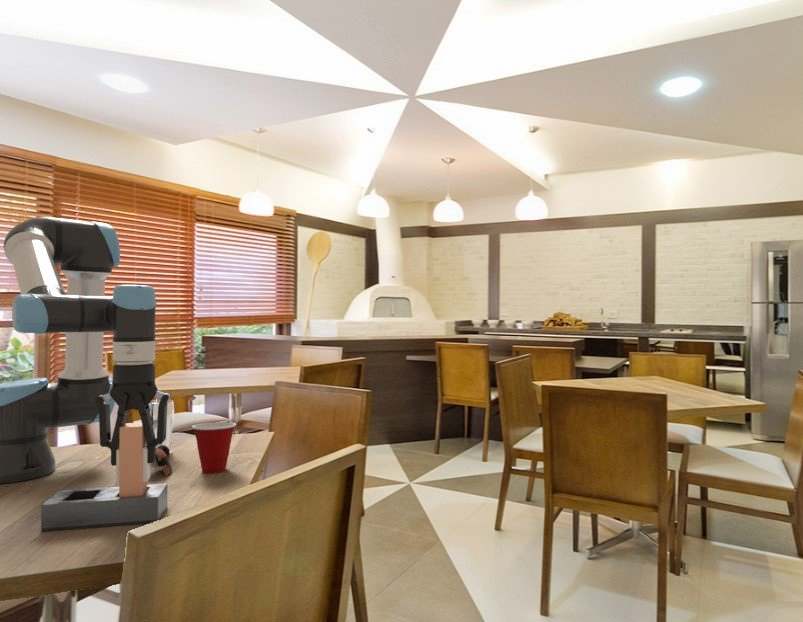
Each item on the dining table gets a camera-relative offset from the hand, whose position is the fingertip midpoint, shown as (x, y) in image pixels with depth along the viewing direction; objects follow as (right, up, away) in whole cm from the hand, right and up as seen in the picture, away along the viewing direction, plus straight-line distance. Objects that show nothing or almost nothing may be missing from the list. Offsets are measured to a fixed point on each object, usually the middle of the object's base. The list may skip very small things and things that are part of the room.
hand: (133, 480), depth 102 cm
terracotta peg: (0, -3, 0) cm, 3 cm away
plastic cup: (+5, -8, +31) cm, 32 cm away
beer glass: (-16, -8, +46) cm, 49 cm away
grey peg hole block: (-4, -7, -1) cm, 9 cm away
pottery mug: (-10, -8, +28) cm, 30 cm away
